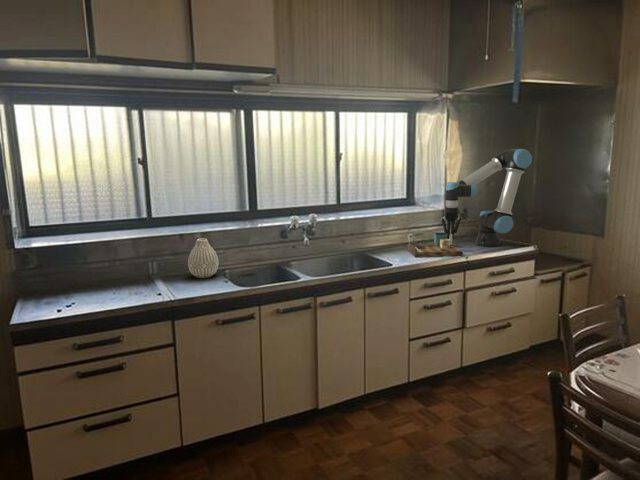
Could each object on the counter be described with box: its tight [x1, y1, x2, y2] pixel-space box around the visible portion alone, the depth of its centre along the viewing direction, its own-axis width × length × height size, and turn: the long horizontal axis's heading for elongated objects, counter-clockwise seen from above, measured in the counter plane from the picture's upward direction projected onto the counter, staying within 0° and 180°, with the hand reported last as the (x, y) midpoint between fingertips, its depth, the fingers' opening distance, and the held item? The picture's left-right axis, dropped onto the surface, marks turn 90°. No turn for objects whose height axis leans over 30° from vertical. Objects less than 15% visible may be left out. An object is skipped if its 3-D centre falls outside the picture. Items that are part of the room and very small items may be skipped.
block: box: [440, 239, 451, 249], centre depth 309 cm, size 5×5×5 cm
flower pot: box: [433, 232, 447, 245], centre depth 324 cm, size 9×9×9 cm
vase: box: [187, 237, 220, 279], centre depth 258 cm, size 16×16×20 cm
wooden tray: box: [407, 243, 463, 258], centre depth 305 cm, size 29×20×5 cm
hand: (450, 243), depth 309 cm, fingers closed
